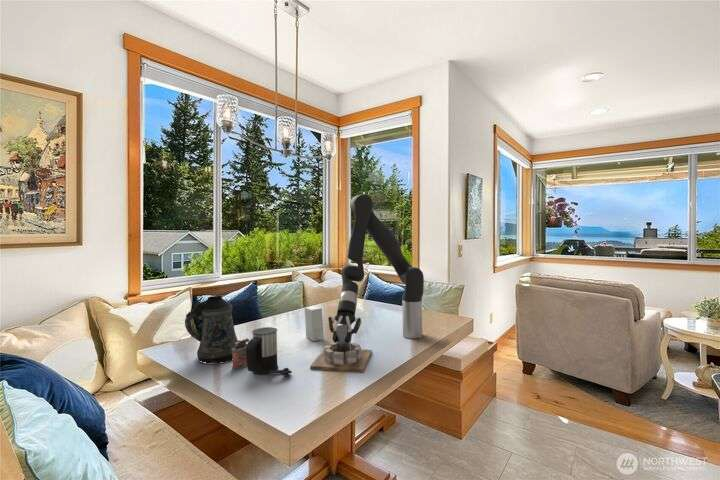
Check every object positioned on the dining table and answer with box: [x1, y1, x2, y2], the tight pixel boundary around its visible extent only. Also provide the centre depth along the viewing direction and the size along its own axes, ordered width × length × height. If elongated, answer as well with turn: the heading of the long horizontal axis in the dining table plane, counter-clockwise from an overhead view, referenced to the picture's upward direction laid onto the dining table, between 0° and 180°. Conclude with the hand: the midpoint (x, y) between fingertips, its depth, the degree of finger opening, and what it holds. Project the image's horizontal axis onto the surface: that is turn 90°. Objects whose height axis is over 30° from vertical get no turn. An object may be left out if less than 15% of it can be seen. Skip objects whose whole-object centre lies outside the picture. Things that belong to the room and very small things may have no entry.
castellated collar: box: [309, 342, 373, 373], centre depth 134 cm, size 20×20×5 cm
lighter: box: [231, 337, 250, 371], centre depth 130 cm, size 8×3×10 cm, turn 148°
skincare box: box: [304, 305, 325, 342], centre depth 163 cm, size 8×6×15 cm
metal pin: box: [335, 322, 349, 356], centre depth 134 cm, size 5×5×12 cm
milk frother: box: [246, 327, 293, 377], centre depth 124 cm, size 14×16×15 cm
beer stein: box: [184, 295, 238, 364], centre depth 139 cm, size 16×19×25 cm
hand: (341, 341), depth 132 cm, fingers closed on metal pin, 4 cm apart
